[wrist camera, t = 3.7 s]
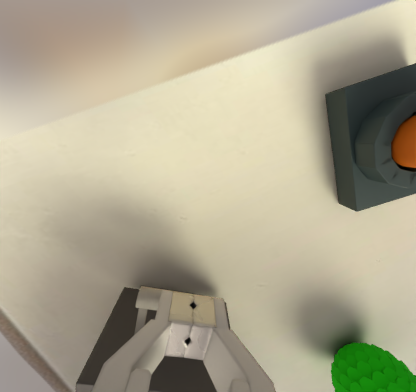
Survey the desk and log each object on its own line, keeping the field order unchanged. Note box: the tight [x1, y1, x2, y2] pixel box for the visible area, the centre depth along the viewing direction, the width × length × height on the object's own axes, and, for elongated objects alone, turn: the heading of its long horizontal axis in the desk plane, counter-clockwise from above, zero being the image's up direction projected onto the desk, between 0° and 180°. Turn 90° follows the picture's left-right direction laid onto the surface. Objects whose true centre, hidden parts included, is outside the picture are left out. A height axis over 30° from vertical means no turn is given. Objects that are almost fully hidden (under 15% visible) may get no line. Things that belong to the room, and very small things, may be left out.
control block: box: [325, 63, 416, 211], centre depth 15 cm, size 10×7×4 cm
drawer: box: [76, 286, 230, 392], centre depth 17 cm, size 17×10×8 cm, turn 167°
